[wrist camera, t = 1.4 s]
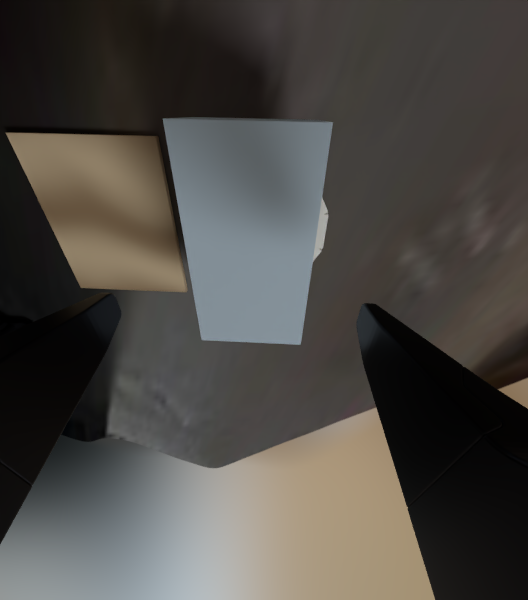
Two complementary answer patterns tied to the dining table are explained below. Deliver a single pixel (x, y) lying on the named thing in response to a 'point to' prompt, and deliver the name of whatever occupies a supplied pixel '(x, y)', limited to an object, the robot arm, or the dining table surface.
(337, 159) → the dining table surface
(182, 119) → the light blue block
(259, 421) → the dining table surface
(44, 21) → the dining table surface
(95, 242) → the mat
